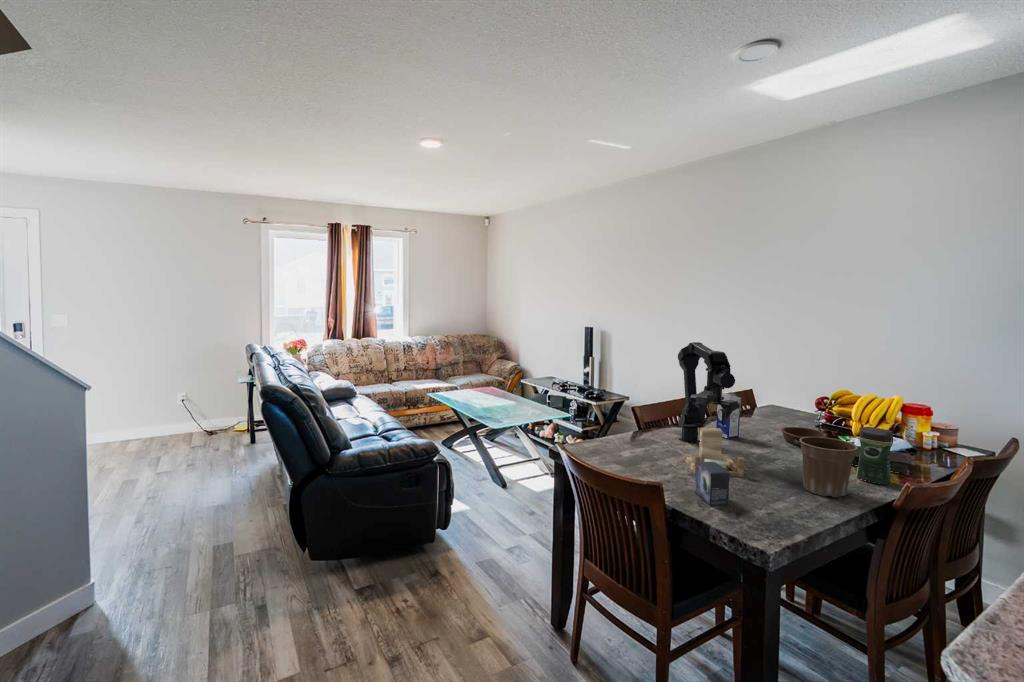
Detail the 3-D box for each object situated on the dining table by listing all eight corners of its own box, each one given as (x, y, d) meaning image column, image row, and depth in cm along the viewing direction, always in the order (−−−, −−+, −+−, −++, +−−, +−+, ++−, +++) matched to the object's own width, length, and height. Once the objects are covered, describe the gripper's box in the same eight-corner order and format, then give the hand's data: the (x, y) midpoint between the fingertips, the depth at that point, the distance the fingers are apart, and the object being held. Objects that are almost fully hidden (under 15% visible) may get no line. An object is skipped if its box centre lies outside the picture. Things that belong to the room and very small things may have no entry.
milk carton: (715, 435, 239) (717, 391, 237) (726, 433, 242) (728, 390, 240) (727, 439, 233) (730, 394, 231) (739, 437, 235) (741, 393, 233)
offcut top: (704, 463, 192) (704, 458, 192) (724, 465, 190) (725, 460, 190) (704, 466, 188) (705, 461, 188) (725, 468, 186) (726, 464, 186)
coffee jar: (892, 482, 182) (897, 429, 181) (886, 487, 177) (890, 433, 175) (860, 474, 190) (864, 423, 188) (853, 479, 184) (857, 427, 183)
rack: (683, 460, 202) (684, 443, 201) (728, 462, 200) (729, 444, 200) (694, 476, 185) (695, 456, 184) (743, 478, 183) (744, 459, 183)
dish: (776, 445, 226) (777, 433, 225) (783, 434, 244) (784, 423, 243) (823, 452, 216) (824, 440, 215) (827, 440, 234) (828, 429, 233)
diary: (833, 452, 218) (834, 440, 217) (909, 465, 203) (910, 452, 203) (828, 463, 203) (829, 450, 202) (910, 477, 188) (911, 464, 188)
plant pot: (809, 478, 185) (812, 433, 183) (861, 492, 172) (865, 444, 170) (787, 489, 174) (790, 441, 173) (841, 505, 162) (845, 453, 160)
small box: (693, 492, 170) (695, 461, 169) (713, 492, 171) (714, 460, 170) (708, 506, 160) (710, 472, 159) (729, 505, 160) (731, 472, 159)
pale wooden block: (698, 464, 198) (700, 427, 197) (717, 465, 198) (719, 428, 196) (700, 467, 195) (702, 430, 193) (720, 468, 194) (722, 430, 193)
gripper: (681, 382, 210) (679, 420, 211) (722, 389, 194) (720, 431, 196) (699, 379, 216) (698, 417, 217) (741, 386, 200) (738, 427, 202)
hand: (712, 423), depth 208 cm, fingers open, 9 cm apart
